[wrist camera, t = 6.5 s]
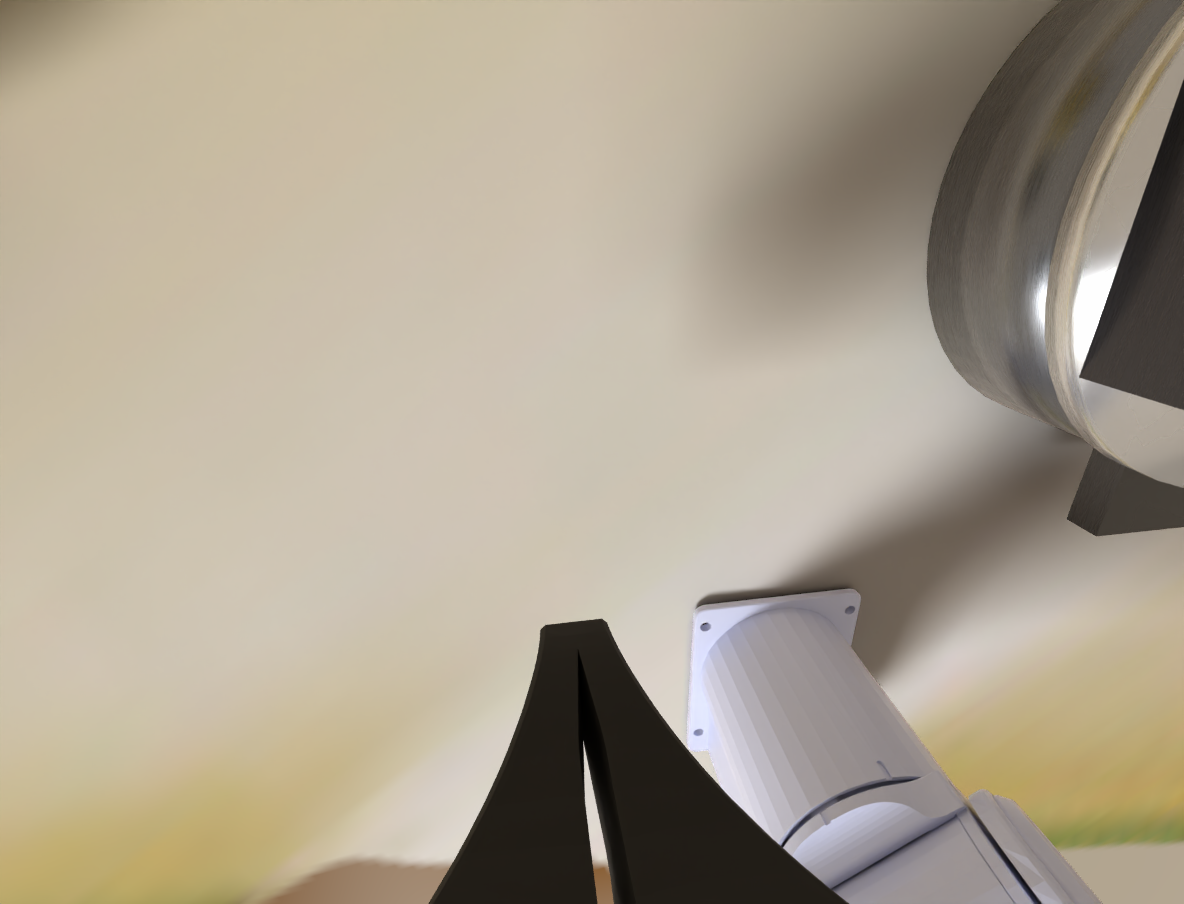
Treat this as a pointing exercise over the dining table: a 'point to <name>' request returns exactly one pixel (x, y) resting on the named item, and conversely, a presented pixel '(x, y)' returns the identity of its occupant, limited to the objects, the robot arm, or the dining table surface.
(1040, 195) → the cooker pot
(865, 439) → the dining table surface
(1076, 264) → the cooker lid
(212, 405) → the dining table surface
